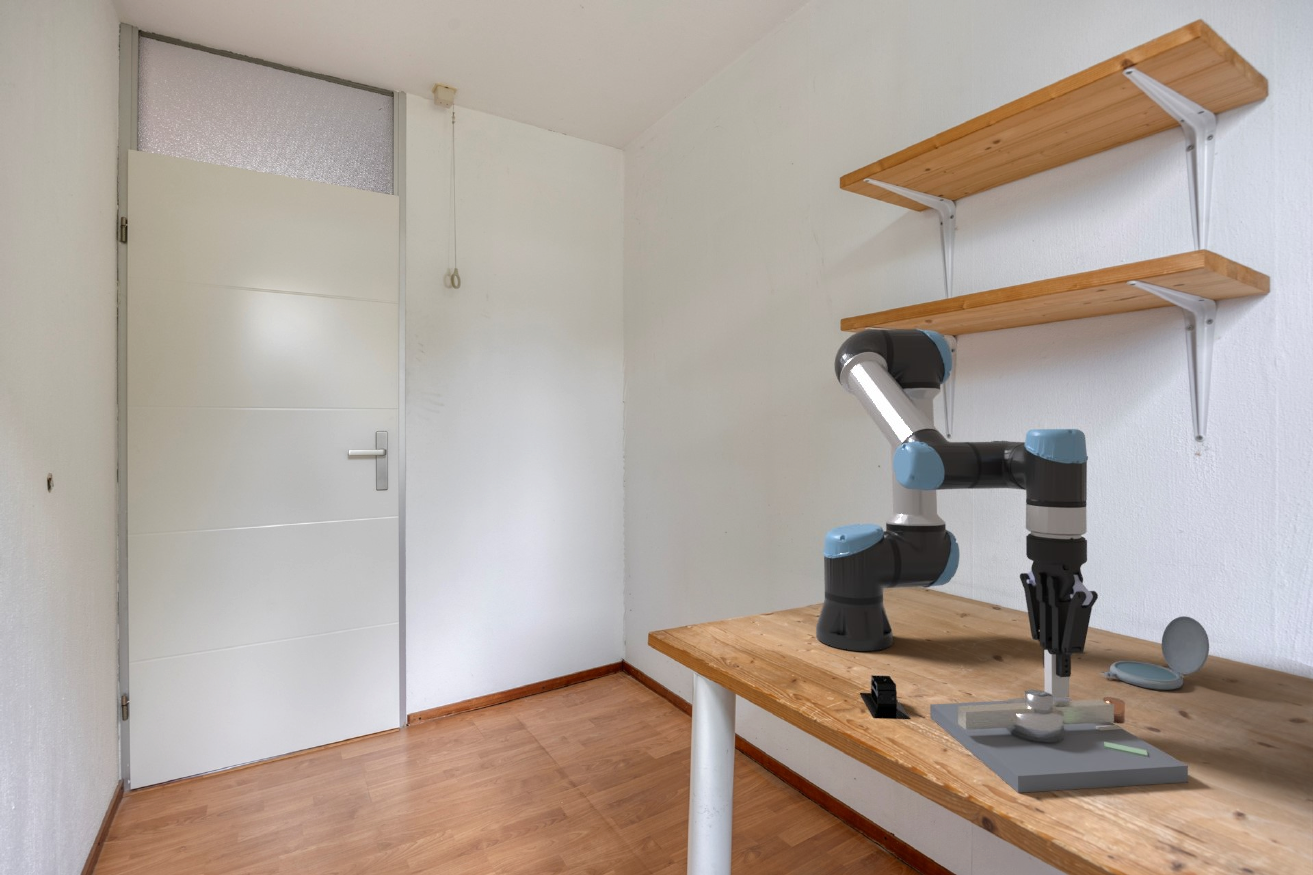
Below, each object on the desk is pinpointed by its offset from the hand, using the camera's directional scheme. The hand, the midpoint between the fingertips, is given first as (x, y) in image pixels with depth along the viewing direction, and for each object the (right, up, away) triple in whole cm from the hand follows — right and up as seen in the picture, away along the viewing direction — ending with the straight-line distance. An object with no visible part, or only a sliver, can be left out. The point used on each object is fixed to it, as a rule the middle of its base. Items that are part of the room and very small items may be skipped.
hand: (1056, 695), depth 93 cm
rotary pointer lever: (-6, -2, -6) cm, 9 cm away
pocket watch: (+26, -4, +16) cm, 31 cm away
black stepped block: (-23, -5, +7) cm, 24 cm away
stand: (-5, -4, -6) cm, 9 cm away
